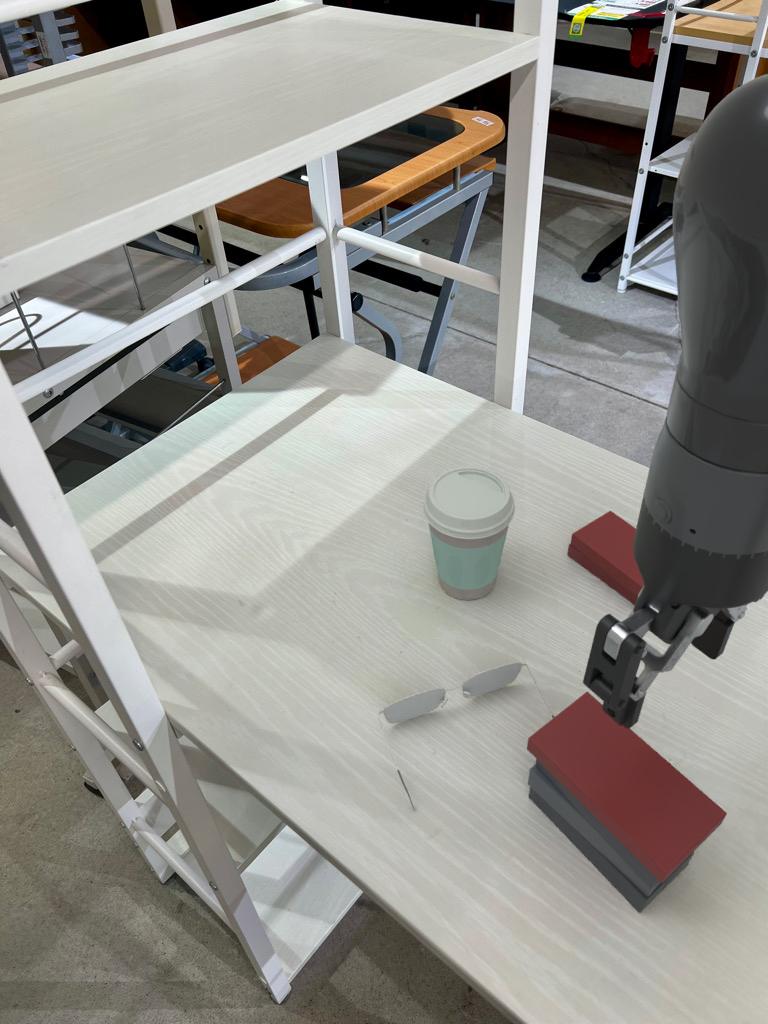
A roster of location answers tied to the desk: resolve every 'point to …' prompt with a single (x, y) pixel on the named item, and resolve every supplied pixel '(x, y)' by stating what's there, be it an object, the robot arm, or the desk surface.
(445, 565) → the coffee cup
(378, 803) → the desk surface
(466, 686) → the eyeglasses
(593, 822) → the grey books
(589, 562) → the oxblood books
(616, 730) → the thin oxblood book
